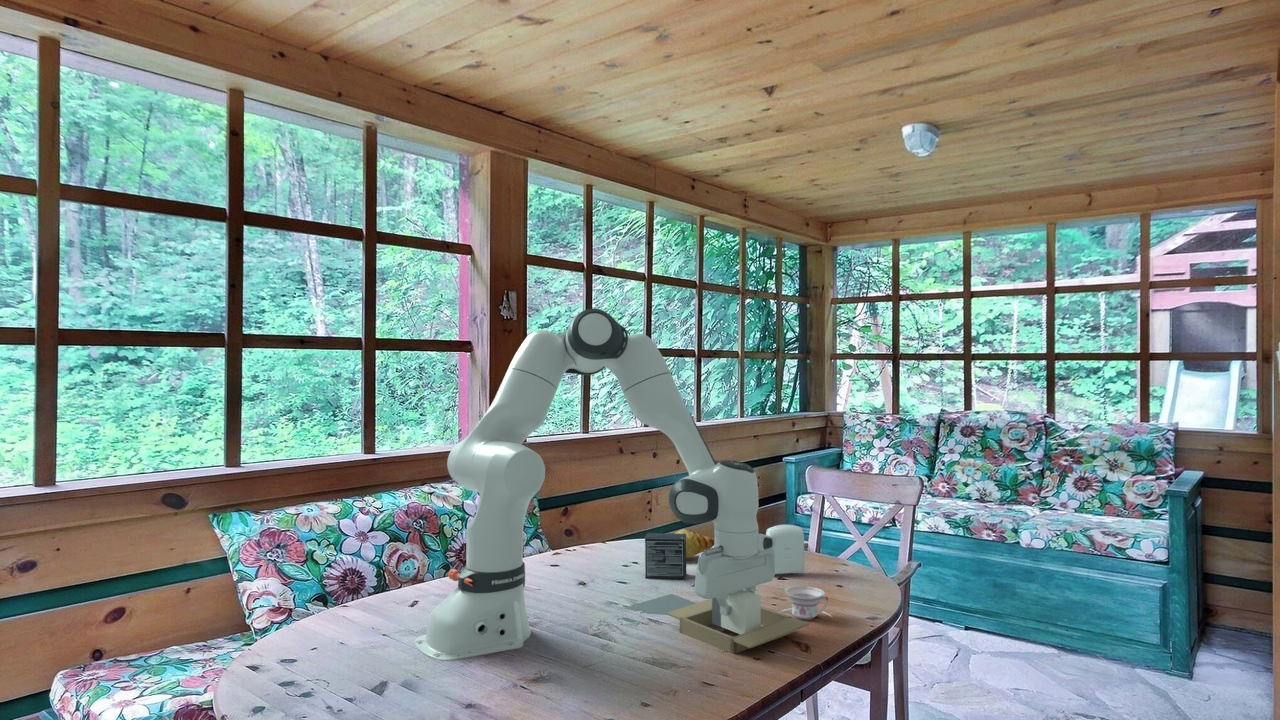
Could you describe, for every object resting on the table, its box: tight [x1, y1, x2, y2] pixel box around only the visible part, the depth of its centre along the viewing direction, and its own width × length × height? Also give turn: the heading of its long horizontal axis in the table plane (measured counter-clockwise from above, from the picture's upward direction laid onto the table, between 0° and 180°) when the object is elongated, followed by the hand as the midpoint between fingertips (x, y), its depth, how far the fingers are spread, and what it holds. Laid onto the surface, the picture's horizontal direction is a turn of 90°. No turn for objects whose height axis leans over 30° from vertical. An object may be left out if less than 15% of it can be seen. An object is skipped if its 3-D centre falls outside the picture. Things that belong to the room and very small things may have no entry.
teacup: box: [778, 585, 834, 621], centre depth 156 cm, size 12×12×6 cm
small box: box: [644, 532, 687, 580], centre depth 187 cm, size 11×6×10 cm, turn 84°
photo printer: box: [765, 524, 805, 575], centre depth 190 cm, size 10×4×12 cm, turn 99°
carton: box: [665, 599, 810, 655], centre depth 145 cm, size 18×23×4 cm
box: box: [712, 589, 762, 635], centre depth 145 cm, size 4×9×7 cm, turn 40°
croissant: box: [673, 528, 714, 558], centre depth 206 cm, size 21×10×8 cm
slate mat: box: [625, 593, 697, 616], centre depth 161 cm, size 14×13×1 cm
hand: (735, 611), depth 145 cm, fingers closed on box, 4 cm apart
